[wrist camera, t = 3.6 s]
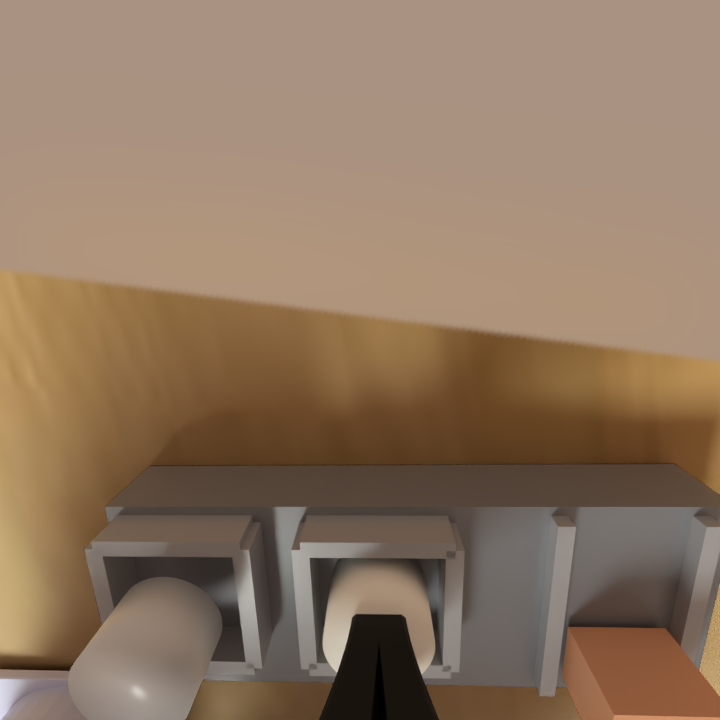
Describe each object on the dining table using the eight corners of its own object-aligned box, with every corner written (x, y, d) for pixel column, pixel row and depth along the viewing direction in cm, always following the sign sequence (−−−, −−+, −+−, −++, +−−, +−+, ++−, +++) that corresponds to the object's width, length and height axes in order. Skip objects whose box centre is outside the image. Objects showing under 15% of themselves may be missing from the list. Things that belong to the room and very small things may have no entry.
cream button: (425, 624, 13) (434, 689, 11) (333, 623, 13) (325, 687, 11) (426, 545, 12) (436, 600, 10) (328, 544, 12) (319, 598, 10)
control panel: (644, 623, 16) (724, 732, 12) (175, 617, 16) (120, 716, 13) (674, 463, 14) (777, 534, 10) (149, 466, 15) (76, 532, 11)
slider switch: (655, 677, 13) (733, 794, 10) (561, 675, 13) (612, 789, 10) (665, 628, 12) (751, 736, 10) (568, 626, 12) (623, 733, 10)
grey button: (227, 661, 12) (198, 740, 10) (129, 659, 12) (81, 737, 10) (215, 577, 11) (181, 645, 9) (111, 576, 11) (56, 642, 9)
